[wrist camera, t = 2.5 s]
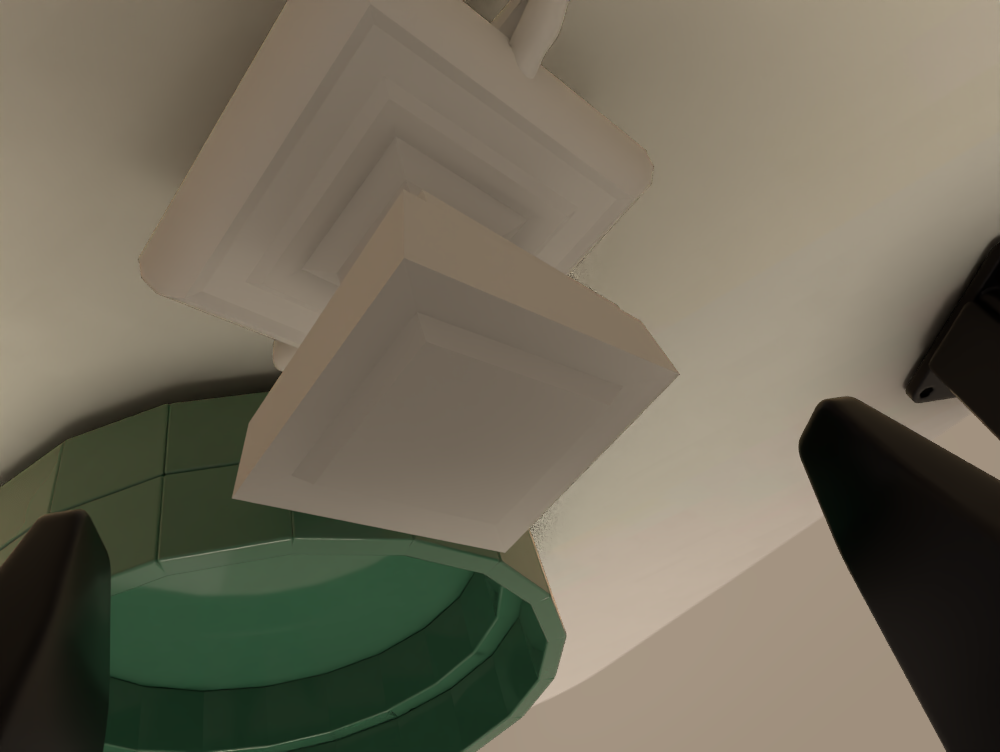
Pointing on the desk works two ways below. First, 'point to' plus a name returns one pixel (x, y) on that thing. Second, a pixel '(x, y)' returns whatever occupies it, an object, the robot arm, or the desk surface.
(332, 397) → the stamp
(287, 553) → the green bowl
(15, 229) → the desk surface
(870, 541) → the robot arm
